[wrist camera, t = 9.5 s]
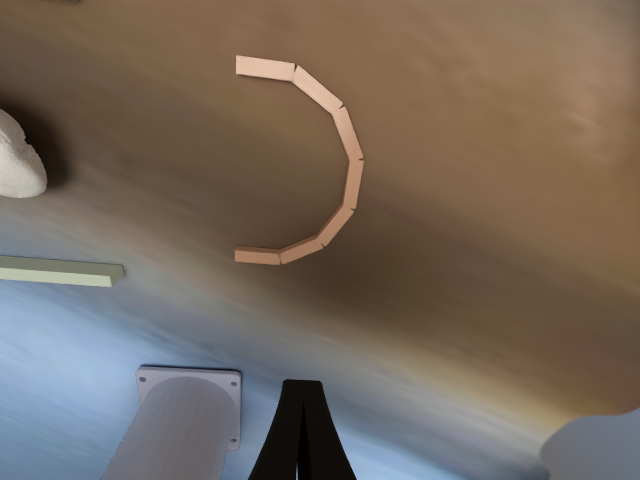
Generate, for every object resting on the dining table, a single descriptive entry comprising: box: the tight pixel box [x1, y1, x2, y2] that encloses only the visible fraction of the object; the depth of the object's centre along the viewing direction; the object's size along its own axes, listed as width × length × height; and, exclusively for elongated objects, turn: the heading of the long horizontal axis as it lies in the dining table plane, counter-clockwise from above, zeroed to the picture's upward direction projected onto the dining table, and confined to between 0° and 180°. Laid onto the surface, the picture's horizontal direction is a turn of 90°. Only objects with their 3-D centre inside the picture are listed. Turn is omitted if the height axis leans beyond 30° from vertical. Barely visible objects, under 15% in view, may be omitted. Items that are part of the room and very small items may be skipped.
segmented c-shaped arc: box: [235, 55, 364, 265], centre depth 18 cm, size 12×7×1 cm, turn 173°
